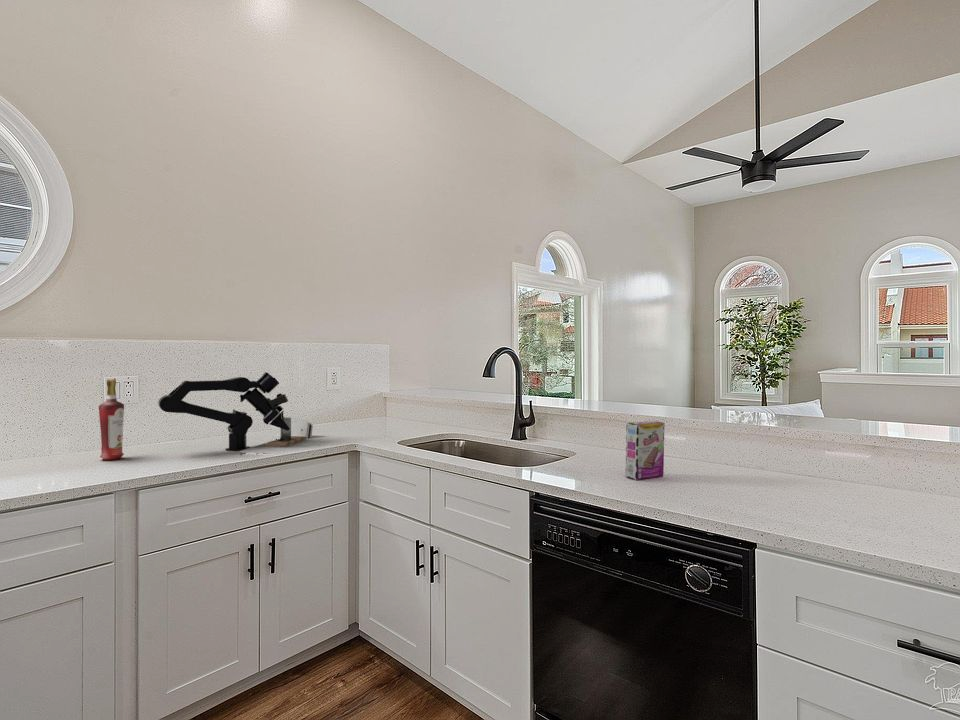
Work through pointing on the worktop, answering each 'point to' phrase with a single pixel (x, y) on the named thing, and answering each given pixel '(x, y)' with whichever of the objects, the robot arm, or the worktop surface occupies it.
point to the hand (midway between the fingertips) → (289, 429)
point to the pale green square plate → (313, 444)
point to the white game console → (298, 429)
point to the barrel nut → (284, 433)
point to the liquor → (111, 424)
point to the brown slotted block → (286, 442)
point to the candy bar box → (644, 450)
